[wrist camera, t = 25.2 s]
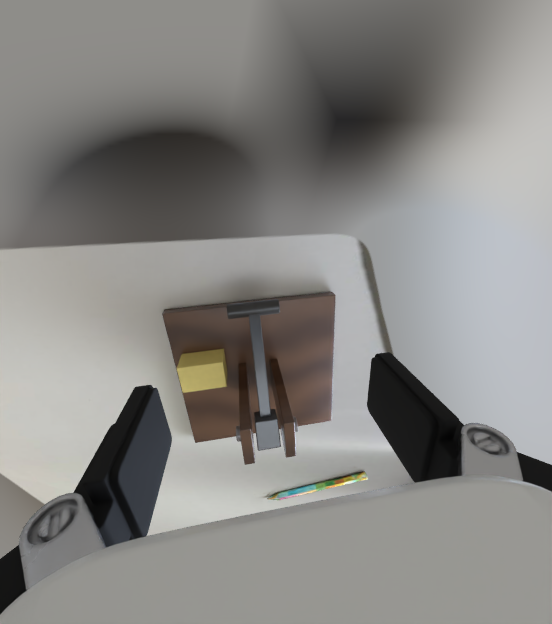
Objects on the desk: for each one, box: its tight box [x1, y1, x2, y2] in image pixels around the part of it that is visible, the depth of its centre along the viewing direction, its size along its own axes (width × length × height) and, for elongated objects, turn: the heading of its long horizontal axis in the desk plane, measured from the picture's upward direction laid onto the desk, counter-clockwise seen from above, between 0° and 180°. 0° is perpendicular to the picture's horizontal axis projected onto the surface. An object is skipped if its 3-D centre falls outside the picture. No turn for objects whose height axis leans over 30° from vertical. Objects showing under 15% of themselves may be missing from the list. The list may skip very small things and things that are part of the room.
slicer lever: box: [227, 299, 281, 451], centre depth 26 cm, size 14×5×2 cm, turn 1°
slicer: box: [163, 292, 335, 465], centre depth 30 cm, size 20×20×12 cm
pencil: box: [267, 472, 367, 500], centre depth 46 cm, size 1×1×18 cm
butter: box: [177, 349, 227, 393], centre depth 31 cm, size 5×3×3 cm
